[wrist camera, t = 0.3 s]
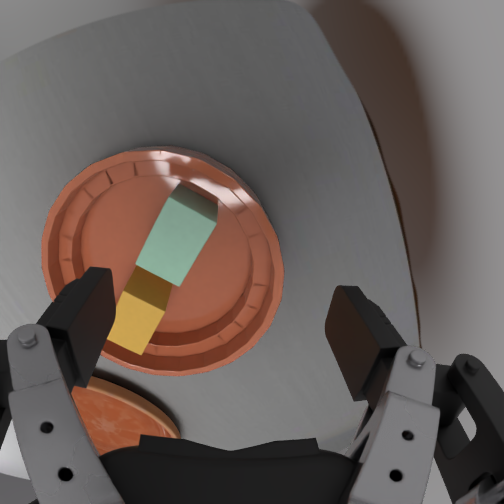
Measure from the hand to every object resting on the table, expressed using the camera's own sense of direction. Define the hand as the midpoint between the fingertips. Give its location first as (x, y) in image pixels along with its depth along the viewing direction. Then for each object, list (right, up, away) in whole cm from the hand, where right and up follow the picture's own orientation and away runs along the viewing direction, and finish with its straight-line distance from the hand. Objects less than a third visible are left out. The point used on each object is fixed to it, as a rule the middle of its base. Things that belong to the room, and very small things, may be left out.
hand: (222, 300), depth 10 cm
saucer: (-20, -22, +24) cm, 38 cm away
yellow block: (-9, -2, +16) cm, 18 cm away
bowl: (-7, +1, +15) cm, 17 cm away
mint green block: (-5, +4, +13) cm, 15 cm away
